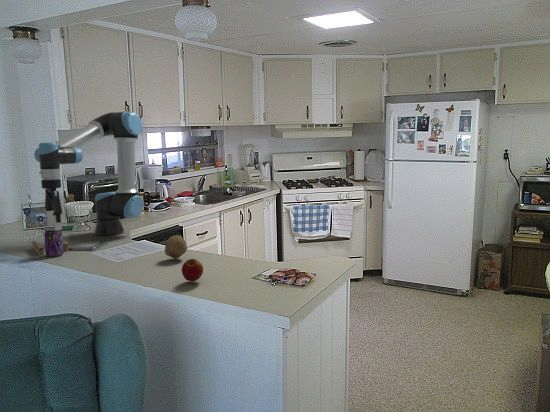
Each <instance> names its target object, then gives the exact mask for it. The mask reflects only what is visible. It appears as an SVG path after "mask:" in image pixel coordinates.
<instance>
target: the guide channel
mask: <svg viewBox="0 0 550 412" xmlns="http://www.w3.org/2000/svg"><path fill="white" fill-rule="evenodd" d="M31 244H32V250H33V251H35V252H36V254H38V255H39V257H40V256H44V253H45V252H44V247H43V246H42V245H41V244H40V243H38V242H37V241H36V240H35V241H34V240H33V241H31ZM69 251H70V250H69V243H68V242H66V241H65V240H63V252H65V253H66V252H69Z"/></svg>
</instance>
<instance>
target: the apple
mask: <svg viewBox="0 0 550 412" xmlns="http://www.w3.org/2000/svg"><path fill="white" fill-rule="evenodd" d="M203 273H204V267H203V264H202V262H201V261H199V259H196V258H189V259H188V260H186V261H185V262H184V263H183V264H182V266H181V274H182V276H183V278H184V279H185V280H186V281H189V282H196V281H198V280H200V278H201V277H202V275H203Z"/></svg>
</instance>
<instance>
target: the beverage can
mask: <svg viewBox="0 0 550 412" xmlns="http://www.w3.org/2000/svg"><path fill="white" fill-rule="evenodd" d="M44 230H45V231H44V235H43V236H44V250H45V252H44V253H45V256H48V257H50V258H54V257H61V256H62V255H63V254H64V252H65V251H64V250H63V231H62V230H56V231H55V226H54V227H47V228H44Z"/></svg>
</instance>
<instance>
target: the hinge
mask: <svg viewBox="0 0 550 412" xmlns="http://www.w3.org/2000/svg"><path fill="white" fill-rule="evenodd" d="M107 245H108V241H107V240H102V241H100V242H98V243H96V244H93V245H91V246H81V245H80V246H74V245H72V246H69V245H68V246H69V251H89V252H91V251H92V252H93V251H96V250H97V249H100V248H103V247H104V246H107Z"/></svg>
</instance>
